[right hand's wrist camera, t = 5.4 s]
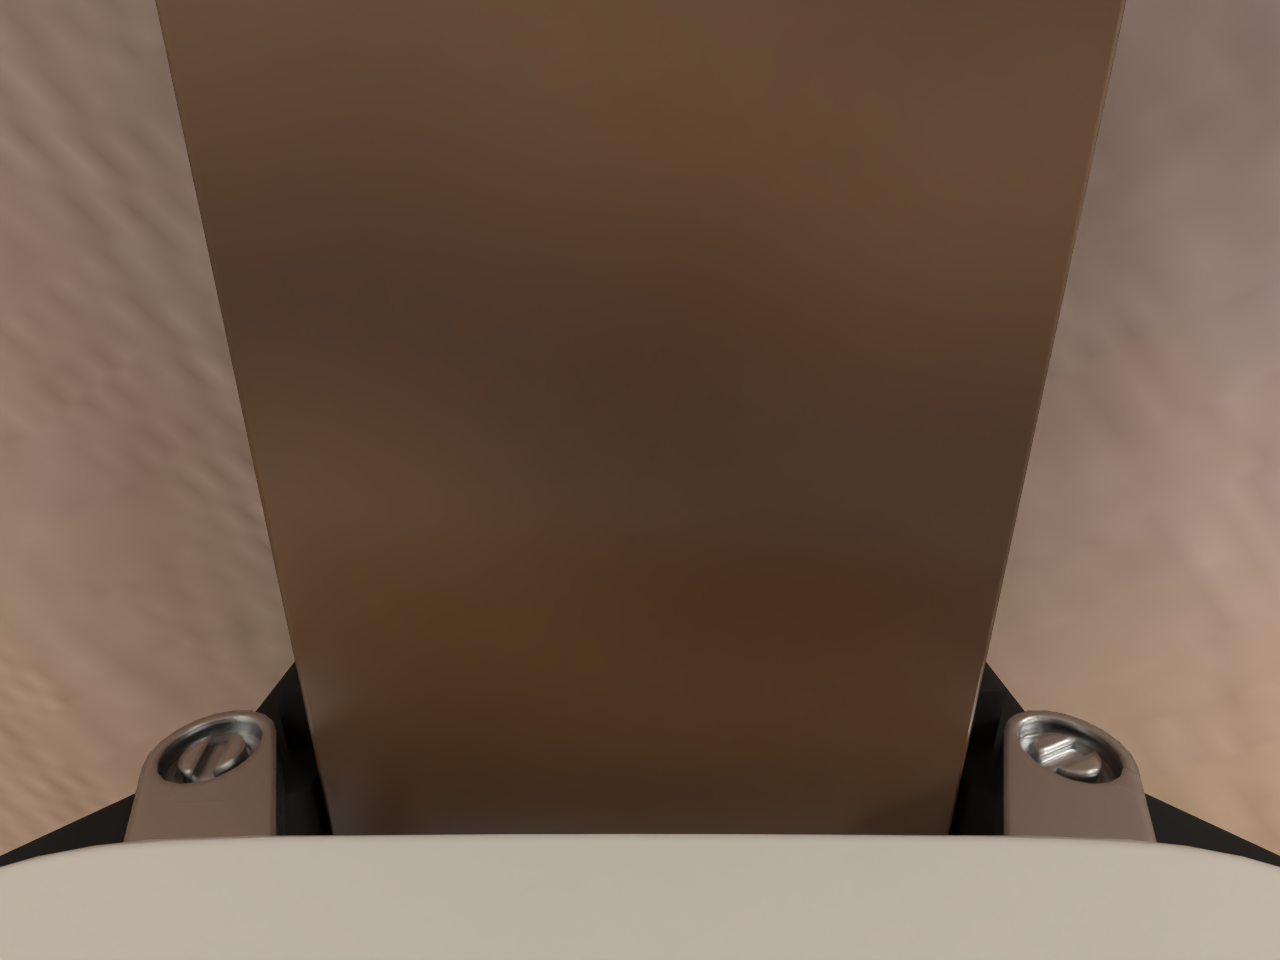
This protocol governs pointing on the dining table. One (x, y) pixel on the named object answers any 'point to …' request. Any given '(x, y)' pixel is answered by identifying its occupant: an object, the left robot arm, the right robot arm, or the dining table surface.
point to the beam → (640, 386)
